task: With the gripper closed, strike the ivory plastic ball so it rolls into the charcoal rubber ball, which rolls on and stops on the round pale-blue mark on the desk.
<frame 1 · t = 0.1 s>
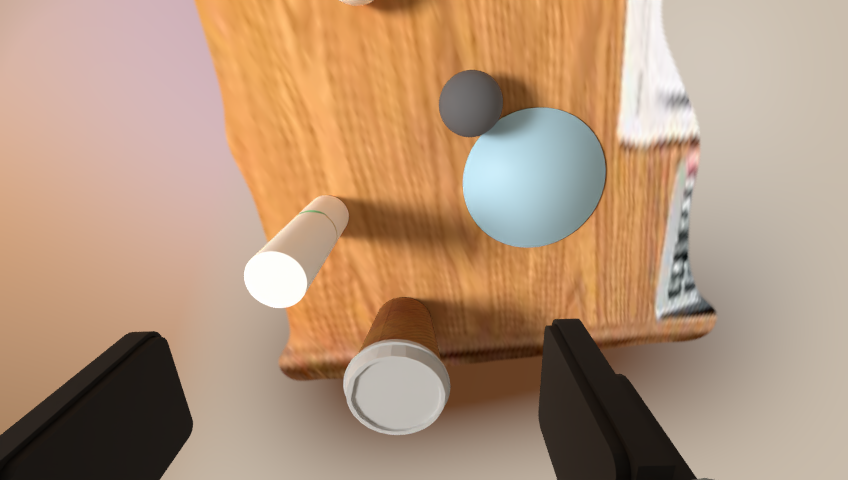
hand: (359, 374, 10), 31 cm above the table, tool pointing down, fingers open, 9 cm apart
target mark: (533, 181, 39), on the table
tube: (328, 214, 41), on the table
object ball: (470, 104, 34), on the table
disposable coffee cup: (404, 320, 46), on the table
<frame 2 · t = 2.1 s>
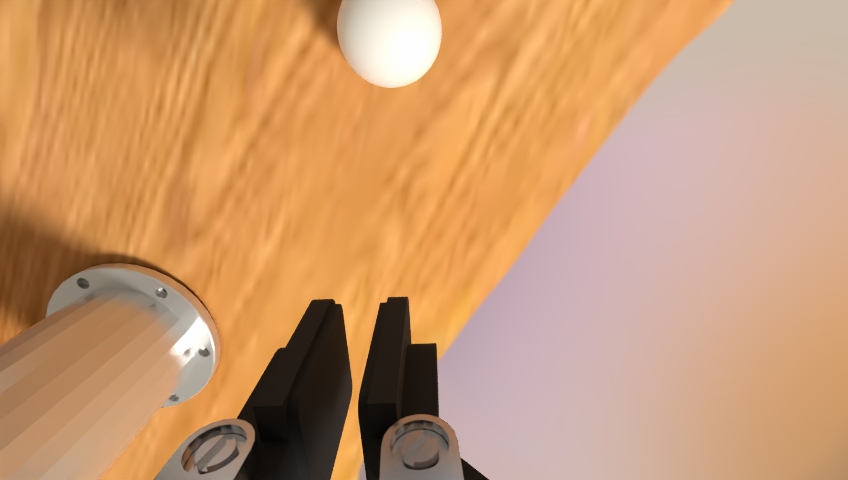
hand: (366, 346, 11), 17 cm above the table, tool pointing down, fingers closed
cue ball: (389, 32, 21), on the table
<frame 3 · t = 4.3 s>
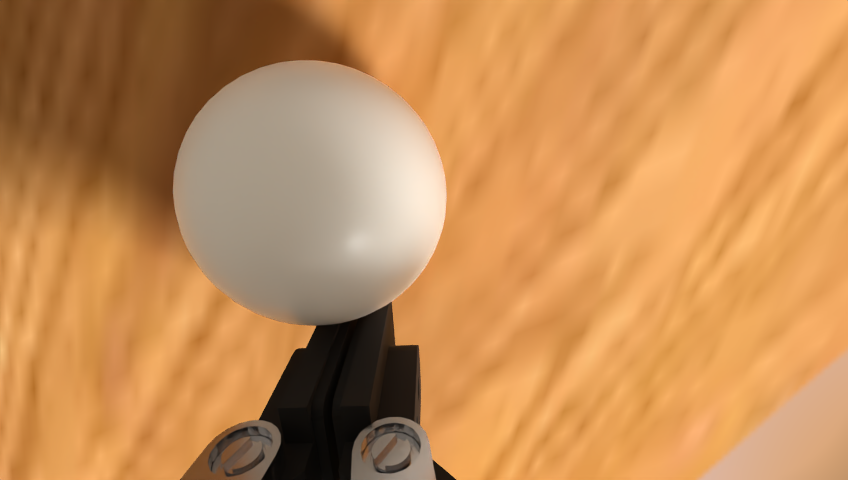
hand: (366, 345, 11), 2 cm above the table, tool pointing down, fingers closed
cue ball: (321, 197, 9), on the table
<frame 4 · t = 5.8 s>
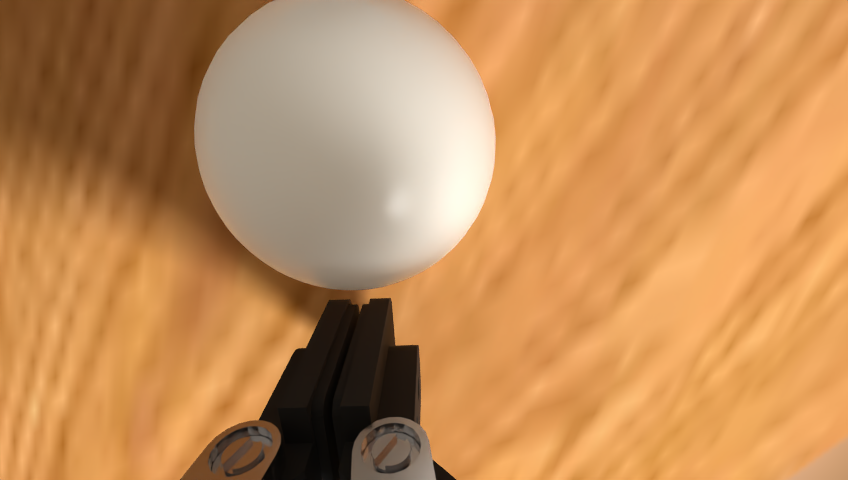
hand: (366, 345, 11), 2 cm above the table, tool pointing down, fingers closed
cue ball: (354, 150, 8), on the table
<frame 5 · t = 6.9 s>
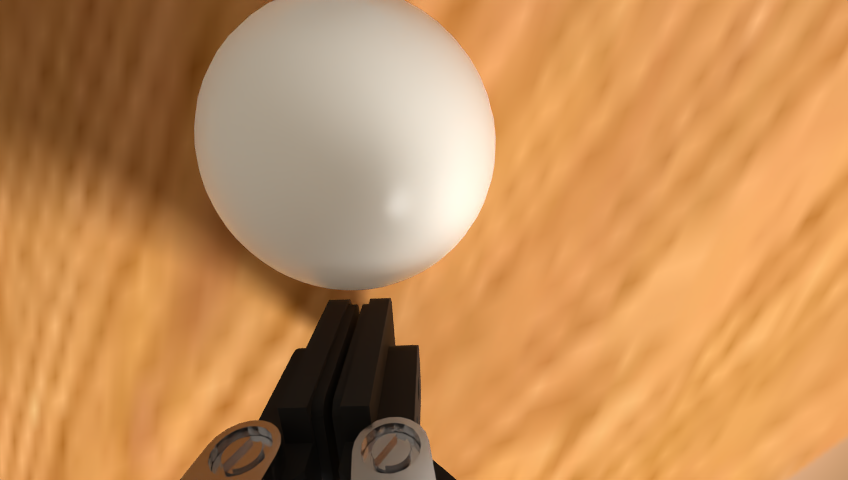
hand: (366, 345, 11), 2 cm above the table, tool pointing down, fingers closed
cue ball: (354, 150, 8), on the table
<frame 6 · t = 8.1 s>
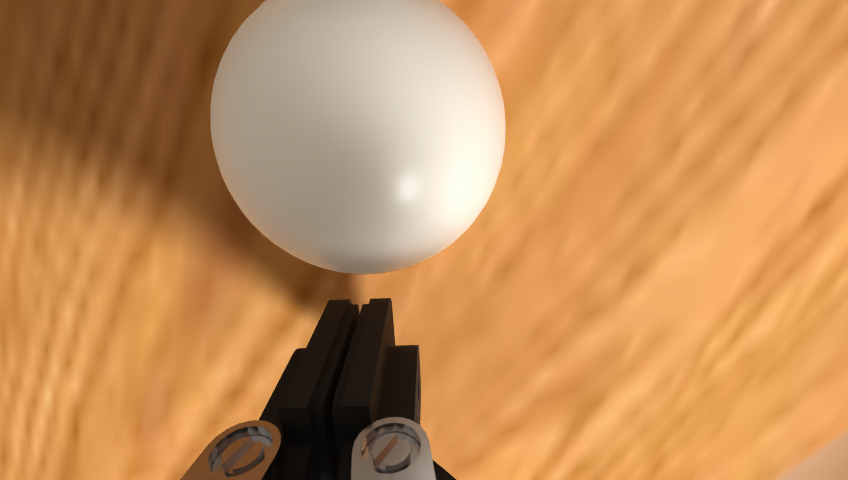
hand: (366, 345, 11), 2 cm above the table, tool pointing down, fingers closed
cue ball: (365, 136, 8), on the table
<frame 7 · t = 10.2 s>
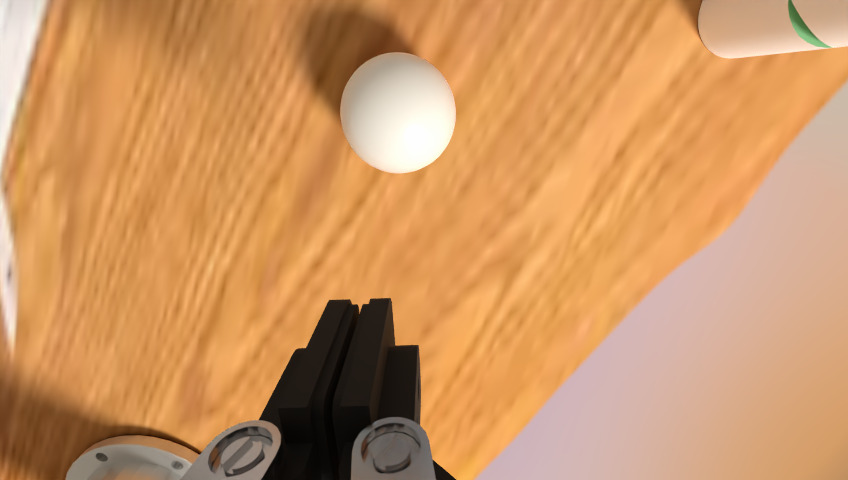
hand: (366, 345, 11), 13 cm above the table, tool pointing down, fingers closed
tube: (739, 11, 20), on the table
cue ball: (398, 115, 19), on the table
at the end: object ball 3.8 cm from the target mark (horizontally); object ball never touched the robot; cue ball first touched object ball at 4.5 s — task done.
